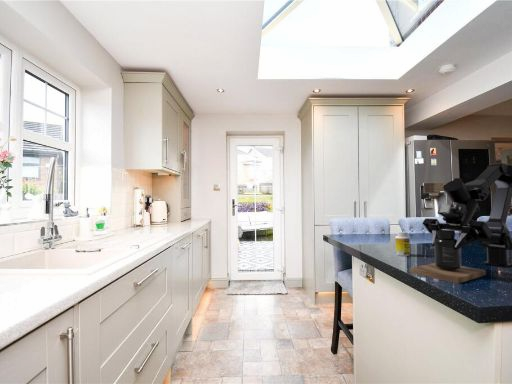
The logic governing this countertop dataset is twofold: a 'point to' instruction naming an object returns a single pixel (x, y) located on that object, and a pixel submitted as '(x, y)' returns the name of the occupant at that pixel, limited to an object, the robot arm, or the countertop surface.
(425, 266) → the walnut board
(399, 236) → the supplement bottle
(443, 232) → the supplement bottle
